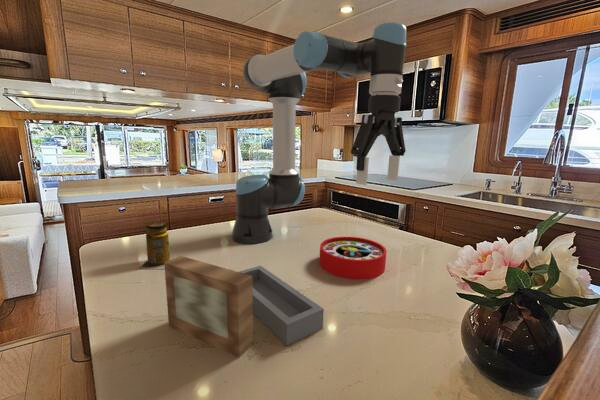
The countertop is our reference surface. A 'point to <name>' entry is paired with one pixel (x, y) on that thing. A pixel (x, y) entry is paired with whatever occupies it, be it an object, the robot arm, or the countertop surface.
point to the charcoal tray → (283, 307)
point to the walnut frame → (210, 304)
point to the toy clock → (352, 257)
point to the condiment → (157, 246)
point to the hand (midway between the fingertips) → (377, 181)
